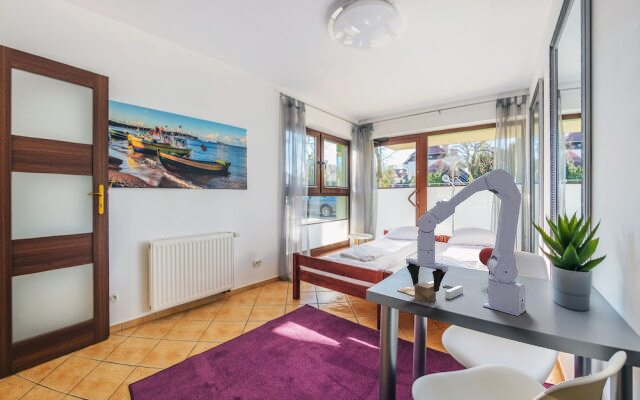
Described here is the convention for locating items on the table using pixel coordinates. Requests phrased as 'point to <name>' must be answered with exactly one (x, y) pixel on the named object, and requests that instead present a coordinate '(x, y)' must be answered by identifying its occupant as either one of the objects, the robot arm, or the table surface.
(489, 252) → the lollipop
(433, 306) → the table surface
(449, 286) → the trap pad
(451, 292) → the channel
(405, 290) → the pad
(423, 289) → the block
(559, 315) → the table surface
